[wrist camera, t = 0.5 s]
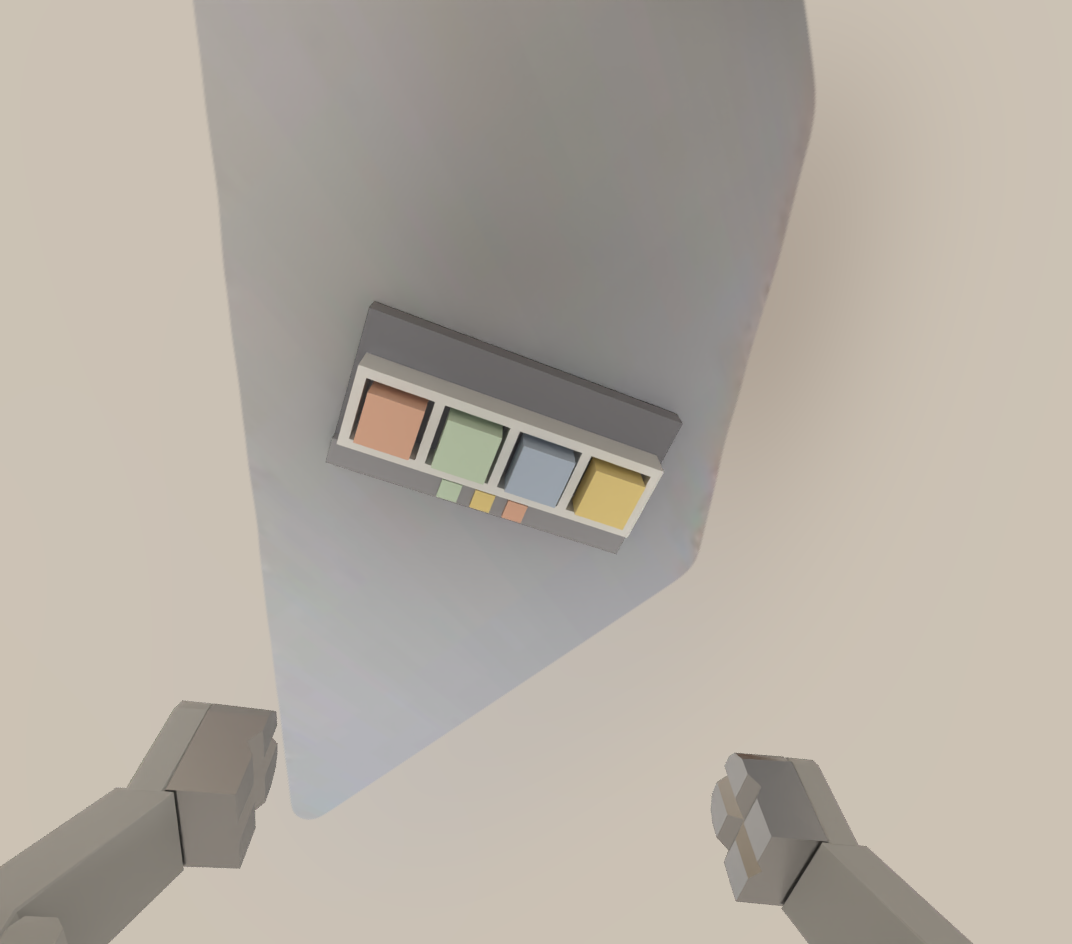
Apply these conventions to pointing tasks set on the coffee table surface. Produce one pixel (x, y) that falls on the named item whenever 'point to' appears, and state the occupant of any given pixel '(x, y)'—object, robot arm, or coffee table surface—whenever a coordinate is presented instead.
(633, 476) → the key ochre
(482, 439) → the key sage
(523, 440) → the key slate
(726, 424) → the coffee table surface
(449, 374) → the coloured button panel
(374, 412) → the key terracotta
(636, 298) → the coffee table surface
